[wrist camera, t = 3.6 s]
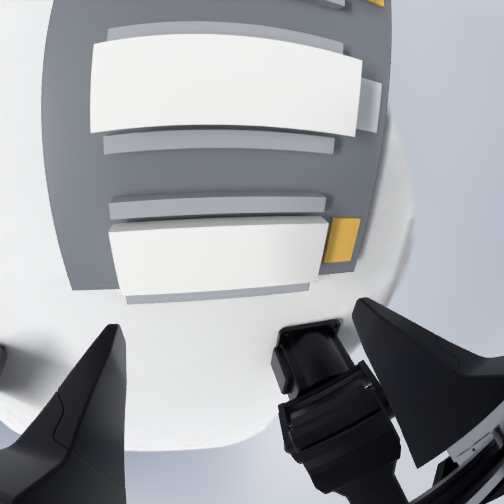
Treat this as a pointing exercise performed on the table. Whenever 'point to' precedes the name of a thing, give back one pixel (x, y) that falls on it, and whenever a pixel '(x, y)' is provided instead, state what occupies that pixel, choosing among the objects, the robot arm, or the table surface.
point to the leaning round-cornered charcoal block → (2, 359)
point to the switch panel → (207, 136)
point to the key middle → (222, 84)
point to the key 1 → (216, 253)
